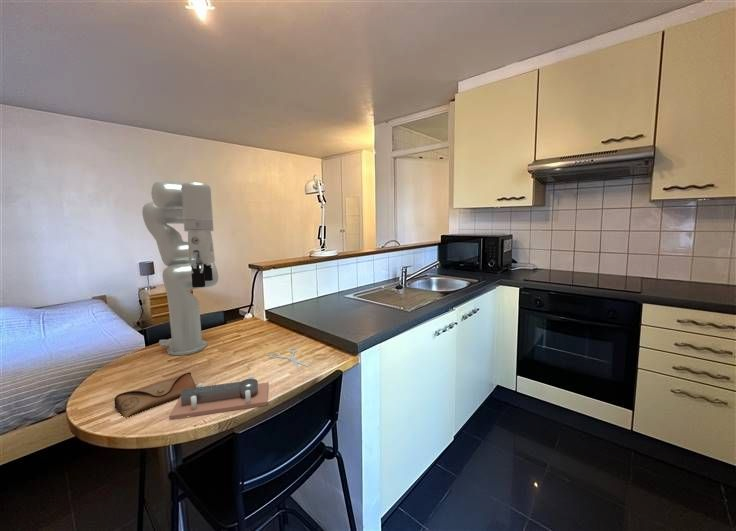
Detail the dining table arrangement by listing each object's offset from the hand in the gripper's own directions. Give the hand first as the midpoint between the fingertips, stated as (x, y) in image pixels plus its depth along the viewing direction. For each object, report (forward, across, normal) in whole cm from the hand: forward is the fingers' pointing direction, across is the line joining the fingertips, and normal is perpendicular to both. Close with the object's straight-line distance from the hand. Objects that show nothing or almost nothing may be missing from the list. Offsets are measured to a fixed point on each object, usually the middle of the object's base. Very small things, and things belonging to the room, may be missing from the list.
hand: (203, 283), depth 93 cm
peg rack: (+28, -19, -7) cm, 34 cm away
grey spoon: (+27, -18, -7) cm, 33 cm away
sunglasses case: (+29, -13, +9) cm, 33 cm away
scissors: (+29, +2, -25) cm, 38 cm away
